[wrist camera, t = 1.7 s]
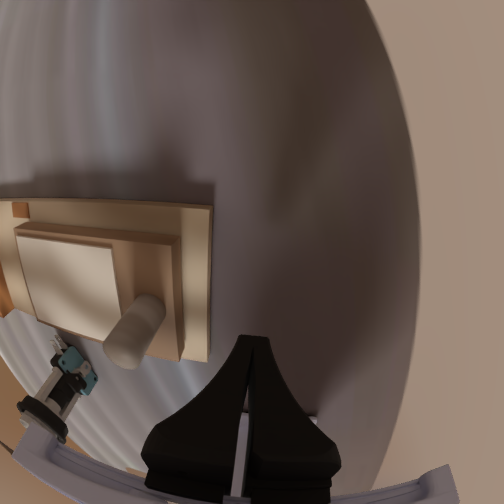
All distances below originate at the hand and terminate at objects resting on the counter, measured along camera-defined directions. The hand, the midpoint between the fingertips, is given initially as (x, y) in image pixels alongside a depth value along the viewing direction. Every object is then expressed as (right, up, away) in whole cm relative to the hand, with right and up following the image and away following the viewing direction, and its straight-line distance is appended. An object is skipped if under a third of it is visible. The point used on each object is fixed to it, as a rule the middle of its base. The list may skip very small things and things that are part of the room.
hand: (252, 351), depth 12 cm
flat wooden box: (-14, +3, +5) cm, 15 cm away
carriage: (-11, +3, +4) cm, 12 cm away
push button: (-18, -6, +9) cm, 21 cm away
